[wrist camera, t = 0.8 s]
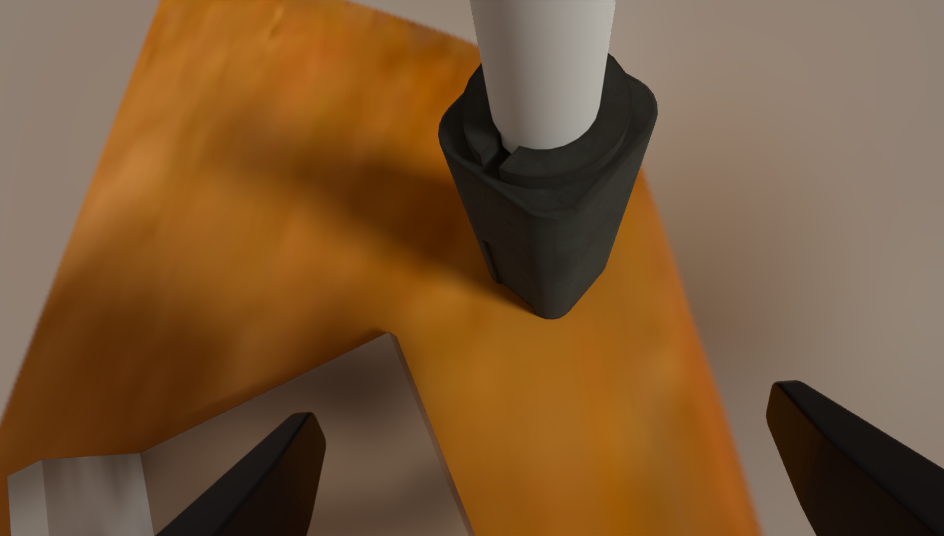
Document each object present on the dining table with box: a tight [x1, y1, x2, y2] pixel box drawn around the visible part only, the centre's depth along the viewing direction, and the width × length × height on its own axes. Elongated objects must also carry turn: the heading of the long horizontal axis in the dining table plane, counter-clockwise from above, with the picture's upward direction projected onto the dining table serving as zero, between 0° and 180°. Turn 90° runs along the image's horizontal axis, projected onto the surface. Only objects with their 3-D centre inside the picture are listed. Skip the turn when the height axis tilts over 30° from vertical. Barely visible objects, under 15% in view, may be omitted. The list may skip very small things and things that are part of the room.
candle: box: [438, 0, 658, 319], centre depth 14 cm, size 5×5×25 cm
